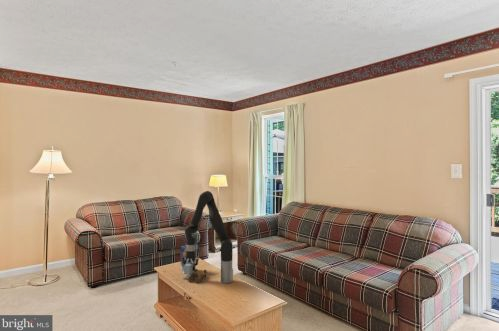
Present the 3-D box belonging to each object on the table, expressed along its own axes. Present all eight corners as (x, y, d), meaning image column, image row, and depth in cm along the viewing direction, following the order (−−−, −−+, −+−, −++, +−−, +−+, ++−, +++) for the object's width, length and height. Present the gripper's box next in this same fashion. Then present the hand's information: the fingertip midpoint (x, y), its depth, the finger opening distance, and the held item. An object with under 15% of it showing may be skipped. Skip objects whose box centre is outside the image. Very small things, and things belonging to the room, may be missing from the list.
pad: (198, 276, 254) (198, 275, 254) (193, 280, 245) (193, 279, 245) (188, 275, 256) (188, 274, 256) (183, 279, 247) (183, 278, 247)
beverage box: (195, 270, 267) (195, 245, 268) (184, 273, 260) (184, 248, 260) (191, 268, 273) (191, 244, 273) (180, 271, 265) (180, 246, 265)
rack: (206, 276, 253) (206, 269, 253) (199, 283, 239) (199, 275, 239) (195, 275, 255) (195, 268, 255) (188, 282, 241) (188, 274, 241)
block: (193, 271, 251) (194, 262, 251) (189, 274, 243) (189, 265, 243) (188, 270, 252) (188, 262, 252) (183, 273, 245) (183, 265, 245)
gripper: (180, 250, 249) (180, 270, 248) (197, 251, 245) (196, 272, 245) (184, 247, 256) (184, 268, 256) (200, 249, 253) (200, 269, 252)
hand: (190, 270), depth 250 cm, fingers closed on block, 5 cm apart
